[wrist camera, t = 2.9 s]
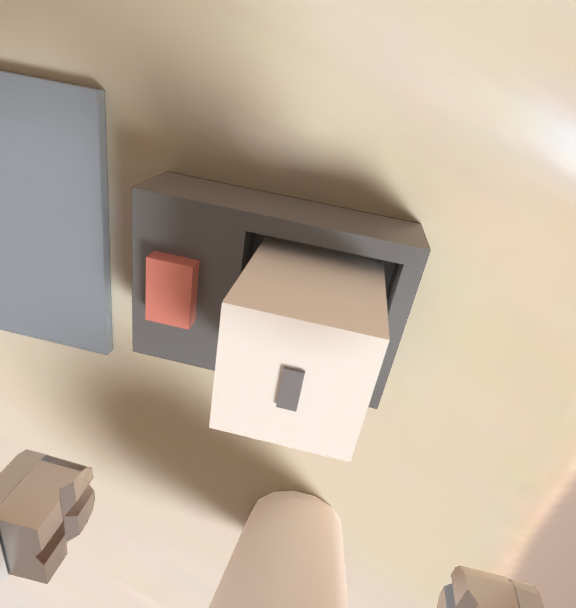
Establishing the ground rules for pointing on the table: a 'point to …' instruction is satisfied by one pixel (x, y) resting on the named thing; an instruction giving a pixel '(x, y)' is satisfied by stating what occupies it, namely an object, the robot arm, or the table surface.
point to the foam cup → (286, 557)
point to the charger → (301, 347)
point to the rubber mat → (54, 213)
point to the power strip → (245, 259)
